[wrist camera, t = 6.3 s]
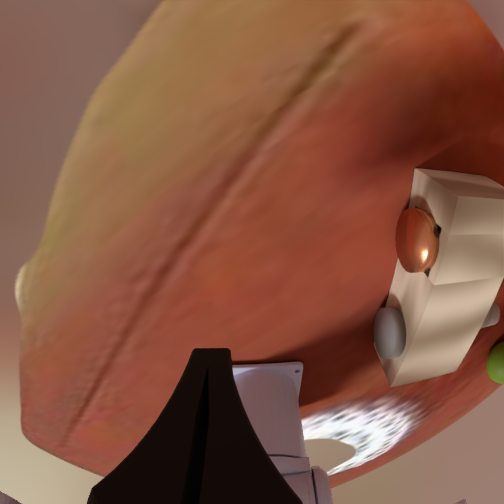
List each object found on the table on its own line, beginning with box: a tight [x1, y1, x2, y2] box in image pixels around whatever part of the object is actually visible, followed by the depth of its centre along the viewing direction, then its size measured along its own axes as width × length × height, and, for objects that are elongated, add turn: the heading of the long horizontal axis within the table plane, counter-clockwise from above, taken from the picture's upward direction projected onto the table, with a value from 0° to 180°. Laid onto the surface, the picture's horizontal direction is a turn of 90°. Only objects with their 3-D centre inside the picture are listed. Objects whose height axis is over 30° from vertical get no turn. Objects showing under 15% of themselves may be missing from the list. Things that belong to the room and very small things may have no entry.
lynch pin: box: [396, 208, 442, 273], centre depth 17 cm, size 4×13×4 cm, turn 92°
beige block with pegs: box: [373, 168, 504, 387], centre depth 20 cm, size 16×12×5 cm
